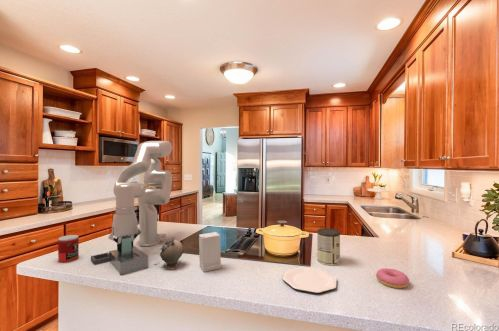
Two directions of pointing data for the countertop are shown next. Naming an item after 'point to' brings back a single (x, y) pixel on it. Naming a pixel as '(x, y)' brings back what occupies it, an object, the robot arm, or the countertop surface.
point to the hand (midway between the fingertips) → (125, 250)
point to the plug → (126, 244)
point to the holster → (100, 258)
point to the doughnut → (392, 278)
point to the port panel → (128, 260)
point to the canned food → (68, 248)
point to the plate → (310, 280)
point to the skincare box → (209, 251)
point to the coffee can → (328, 246)
